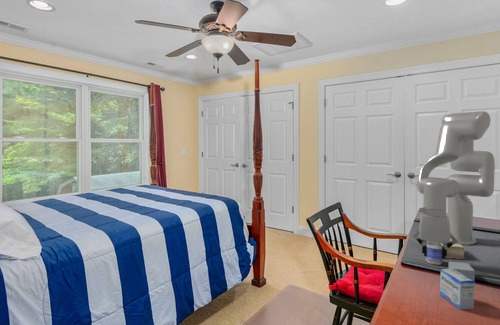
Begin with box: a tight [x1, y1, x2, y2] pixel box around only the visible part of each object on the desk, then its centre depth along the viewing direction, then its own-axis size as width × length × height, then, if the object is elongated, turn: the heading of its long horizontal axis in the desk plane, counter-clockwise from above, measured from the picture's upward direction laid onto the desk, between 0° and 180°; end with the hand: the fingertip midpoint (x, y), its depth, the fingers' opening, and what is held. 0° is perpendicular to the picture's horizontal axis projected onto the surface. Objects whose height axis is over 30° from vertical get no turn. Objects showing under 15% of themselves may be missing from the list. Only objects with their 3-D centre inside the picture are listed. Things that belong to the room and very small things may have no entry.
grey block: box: [448, 261, 476, 283], centre depth 100 cm, size 6×6×4 cm
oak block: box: [427, 239, 465, 260], centre depth 119 cm, size 10×10×5 cm
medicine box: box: [439, 268, 475, 311], centre depth 85 cm, size 8×4×9 cm, turn 5°
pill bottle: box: [425, 241, 443, 266], centre depth 111 cm, size 5×5×10 cm
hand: (434, 256), depth 112 cm, fingers closed on pill bottle, 5 cm apart
